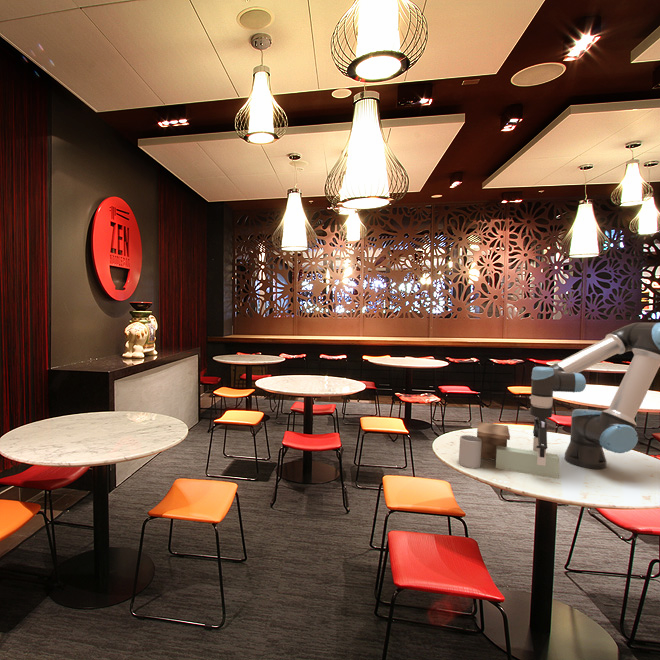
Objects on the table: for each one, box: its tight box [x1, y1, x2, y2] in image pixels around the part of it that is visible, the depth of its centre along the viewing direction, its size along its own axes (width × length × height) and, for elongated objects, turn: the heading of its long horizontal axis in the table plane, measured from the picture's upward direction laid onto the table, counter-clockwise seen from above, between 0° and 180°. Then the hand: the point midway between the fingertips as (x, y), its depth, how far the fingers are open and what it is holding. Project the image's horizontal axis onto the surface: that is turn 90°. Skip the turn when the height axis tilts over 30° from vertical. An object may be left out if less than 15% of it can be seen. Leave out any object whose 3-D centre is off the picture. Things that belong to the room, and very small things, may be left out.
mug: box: [458, 434, 482, 469], centre depth 160 cm, size 12×8×11 cm
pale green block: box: [495, 446, 560, 479], centre depth 153 cm, size 22×5×8 cm, turn 68°
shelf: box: [476, 421, 511, 461], centre depth 159 cm, size 12×16×15 cm
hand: (538, 458), depth 152 cm, fingers open, 13 cm apart
